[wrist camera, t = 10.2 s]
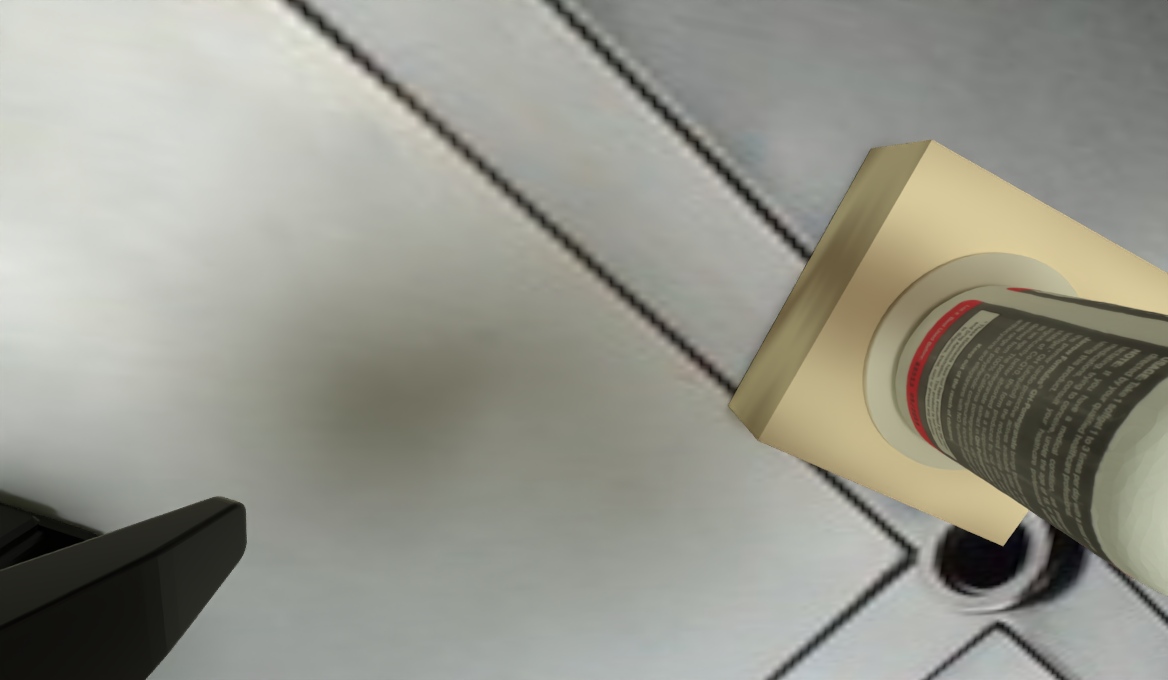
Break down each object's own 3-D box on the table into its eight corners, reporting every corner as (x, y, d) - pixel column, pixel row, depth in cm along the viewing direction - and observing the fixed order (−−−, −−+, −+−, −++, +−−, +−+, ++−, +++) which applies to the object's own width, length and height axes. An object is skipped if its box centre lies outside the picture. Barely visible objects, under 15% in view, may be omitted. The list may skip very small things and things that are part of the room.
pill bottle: (912, 473, 18) (1325, 790, 8) (868, 326, 16) (1304, 504, 7) (1072, 408, 17) (1686, 657, 8) (1041, 252, 16) (1741, 334, 7)
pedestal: (943, 499, 22) (1010, 551, 19) (728, 405, 20) (761, 444, 17) (1097, 273, 20) (1202, 288, 17) (871, 148, 18) (939, 138, 15)
